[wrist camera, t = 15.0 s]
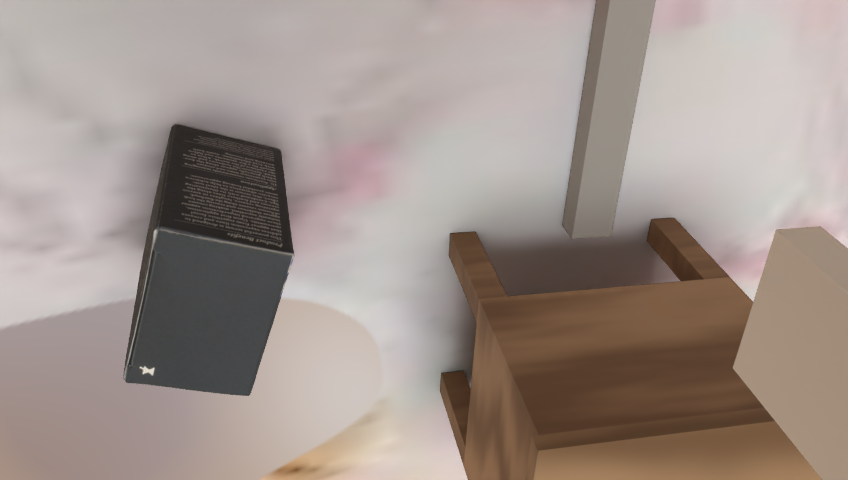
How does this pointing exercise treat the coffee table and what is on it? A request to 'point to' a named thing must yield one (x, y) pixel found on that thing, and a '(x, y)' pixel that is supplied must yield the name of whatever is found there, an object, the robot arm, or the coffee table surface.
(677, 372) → the cabinet
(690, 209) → the coffee table surface
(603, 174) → the orange-headed mallet
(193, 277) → the box
